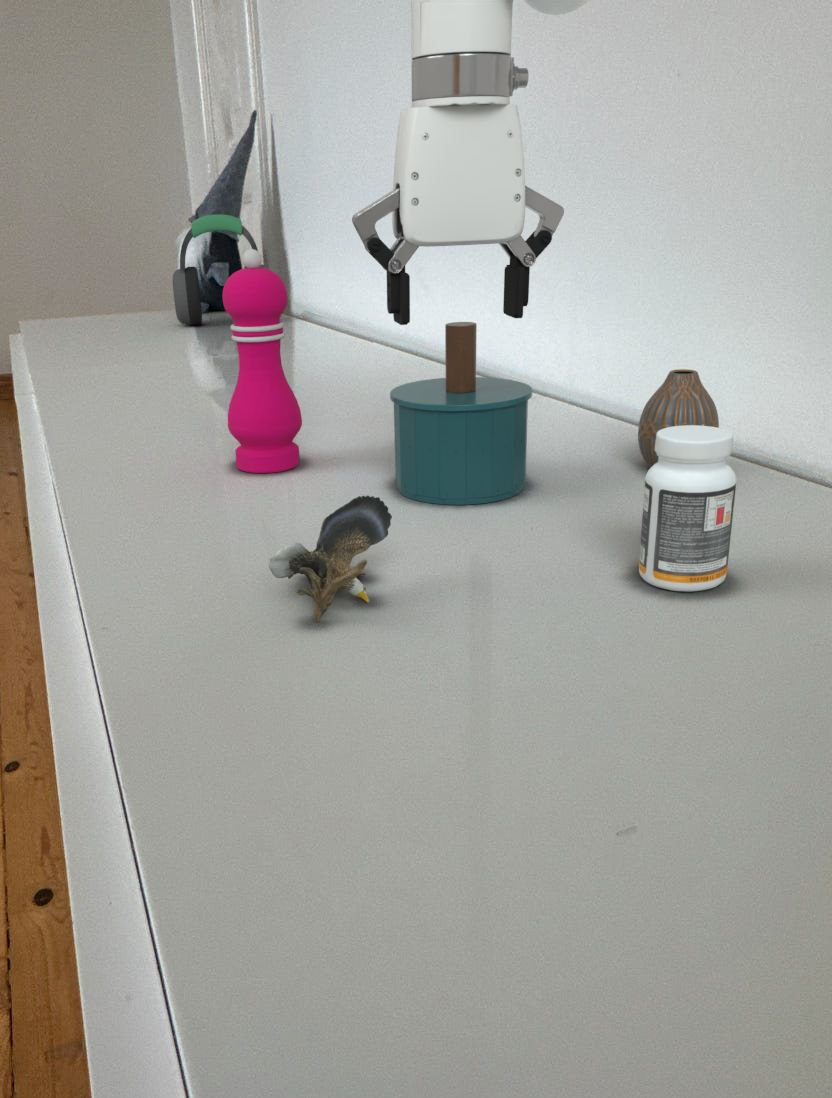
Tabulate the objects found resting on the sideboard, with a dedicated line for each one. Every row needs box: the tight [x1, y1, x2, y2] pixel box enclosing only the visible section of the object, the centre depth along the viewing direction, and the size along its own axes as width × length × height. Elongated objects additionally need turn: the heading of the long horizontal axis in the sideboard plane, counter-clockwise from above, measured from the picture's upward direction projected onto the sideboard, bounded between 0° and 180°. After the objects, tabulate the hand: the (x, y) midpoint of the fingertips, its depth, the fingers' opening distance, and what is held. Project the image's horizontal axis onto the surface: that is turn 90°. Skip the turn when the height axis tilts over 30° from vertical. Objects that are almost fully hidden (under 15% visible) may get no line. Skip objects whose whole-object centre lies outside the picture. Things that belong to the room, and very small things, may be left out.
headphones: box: [172, 213, 269, 326], centre depth 195 cm, size 19×11×20 cm, turn 97°
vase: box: [637, 368, 720, 468], centre depth 90 cm, size 7×7×9 cm
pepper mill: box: [222, 248, 303, 474], centre depth 95 cm, size 7×7×20 cm
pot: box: [393, 400, 529, 506], centre depth 88 cm, size 11×11×8 cm
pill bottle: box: [638, 425, 737, 592], centre depth 65 cm, size 6×6×10 cm
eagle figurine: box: [268, 495, 393, 623], centre depth 66 cm, size 8×7×9 cm
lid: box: [389, 321, 533, 411], centre depth 85 cm, size 12×12×7 cm
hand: (457, 319), depth 84 cm, fingers open, 9 cm apart
